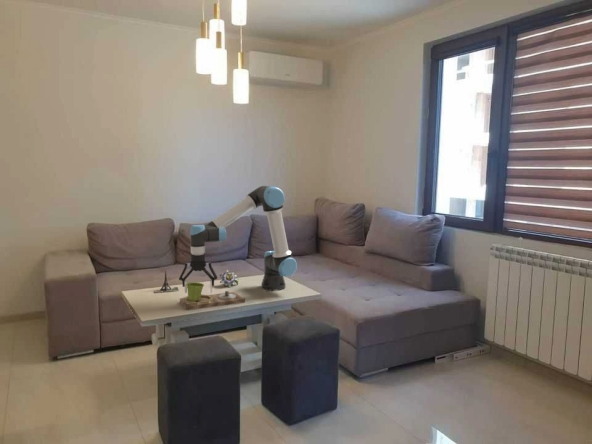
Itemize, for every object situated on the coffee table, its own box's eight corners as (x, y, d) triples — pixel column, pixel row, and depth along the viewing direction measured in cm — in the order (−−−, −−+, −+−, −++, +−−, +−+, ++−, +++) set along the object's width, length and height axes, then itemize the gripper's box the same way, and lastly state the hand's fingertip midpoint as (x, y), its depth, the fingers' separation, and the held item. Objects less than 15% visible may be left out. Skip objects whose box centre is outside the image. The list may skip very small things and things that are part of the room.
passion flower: (229, 295, 288) (220, 282, 281) (222, 288, 296) (213, 275, 290) (243, 284, 291) (234, 271, 284) (236, 277, 299) (228, 264, 293)
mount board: (234, 295, 269) (234, 286, 268) (244, 302, 255) (244, 293, 254) (179, 302, 253) (179, 293, 253) (187, 310, 240) (187, 300, 239)
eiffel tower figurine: (153, 294, 270) (153, 271, 269) (152, 289, 279) (151, 268, 278) (179, 291, 276) (179, 270, 274) (177, 287, 285) (176, 266, 284)
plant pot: (198, 303, 244) (199, 287, 244) (182, 300, 246) (183, 284, 245) (205, 299, 253) (206, 283, 253) (189, 296, 255) (190, 281, 254)
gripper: (221, 252, 252) (222, 289, 255) (175, 252, 249) (176, 290, 252) (221, 254, 245) (221, 293, 248) (173, 255, 242) (174, 294, 245)
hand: (198, 292), depth 250 cm, fingers open, 13 cm apart
